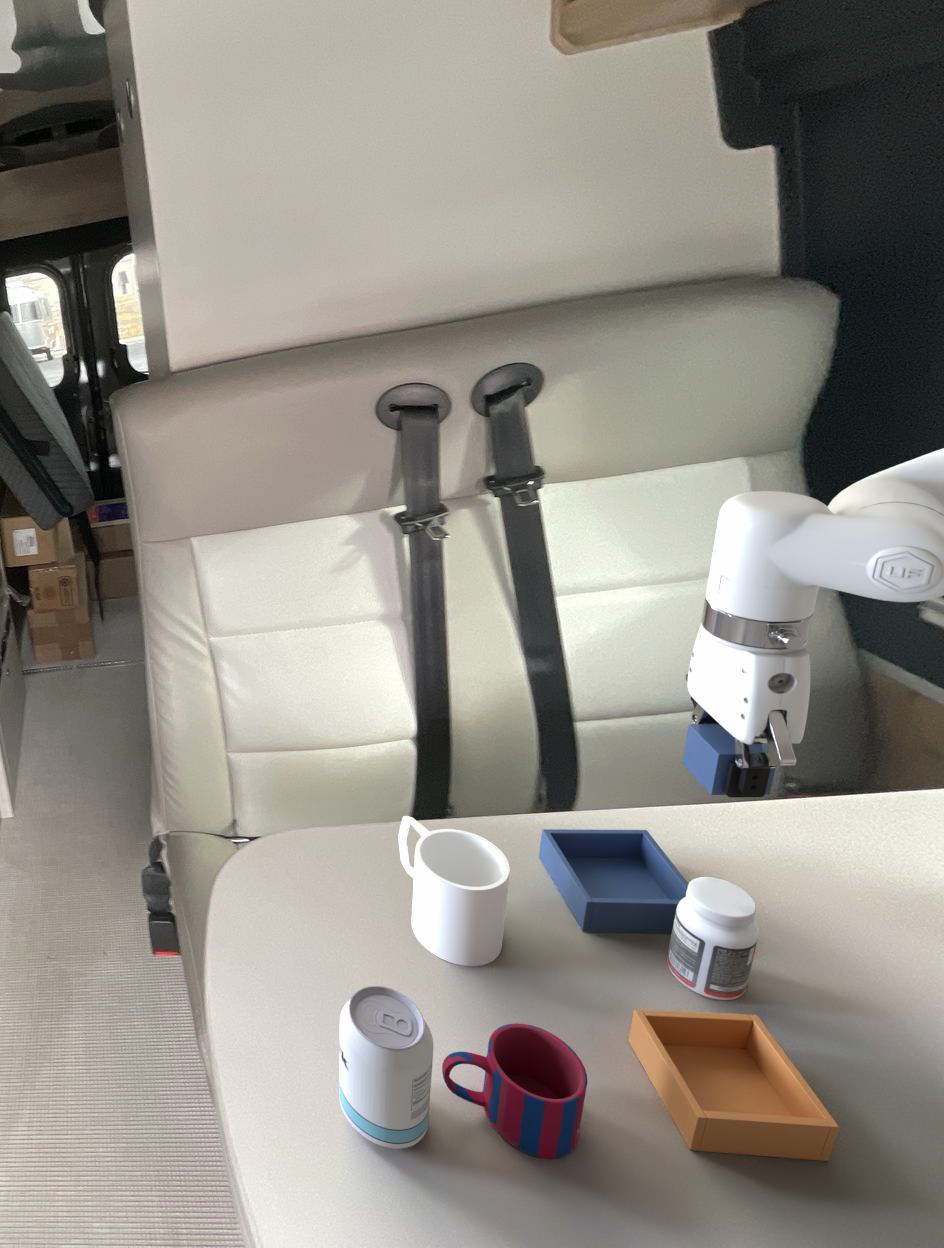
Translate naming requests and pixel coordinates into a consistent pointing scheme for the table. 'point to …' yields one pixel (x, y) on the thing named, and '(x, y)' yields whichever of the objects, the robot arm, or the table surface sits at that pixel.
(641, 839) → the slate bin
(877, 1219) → the table surface
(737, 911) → the pill bottle
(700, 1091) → the tan bin
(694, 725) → the block
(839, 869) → the table surface
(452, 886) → the cup
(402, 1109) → the beverage can
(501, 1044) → the cup
